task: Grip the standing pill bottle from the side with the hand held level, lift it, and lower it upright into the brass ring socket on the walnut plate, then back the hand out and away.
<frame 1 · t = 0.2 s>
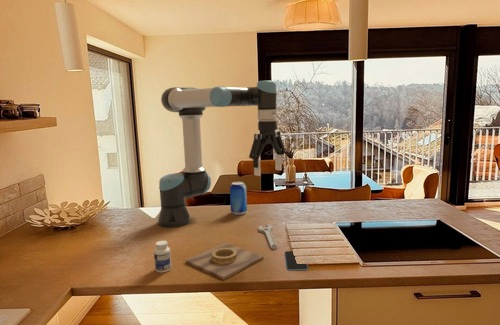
hand: (268, 172, 141), 28 cm above the worktop, tool pointing down, fingers open, 13 cm apart
beer can: (239, 213, 180), on the worktop
adjustable wrench: (267, 238, 146), on the worktop
pill bottle: (163, 269, 120), on the worktop
smartphone: (295, 262, 123), on the worktop
socket plate: (224, 260, 125), on the worktop
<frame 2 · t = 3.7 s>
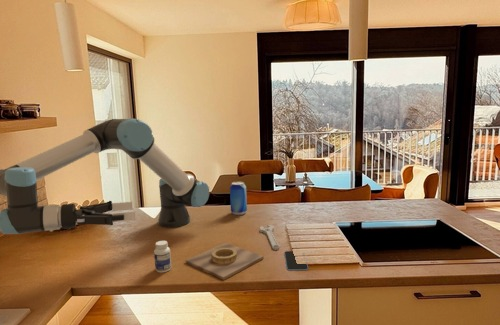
hand: (133, 210, 114), 22 cm above the worktop, tool horizontal, fingers open, 13 cm apart
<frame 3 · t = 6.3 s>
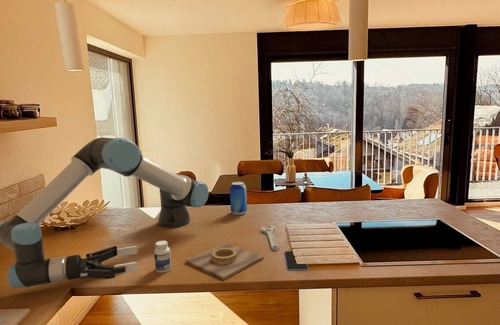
hand: (136, 257, 116), 6 cm above the worktop, tool horizontal, fingers open, 13 cm apart
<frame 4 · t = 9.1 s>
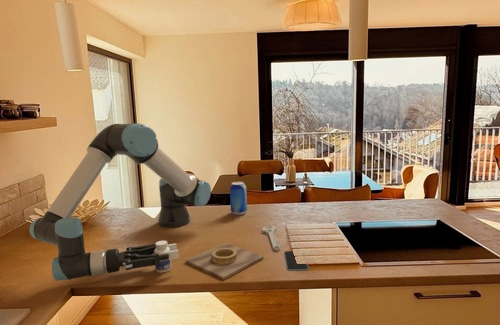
hand: (177, 250, 120), 6 cm above the worktop, tool horizontal, fingers closed on pill bottle, 5 cm apart
pill bottle: (163, 269, 120), on the worktop, touching gripper
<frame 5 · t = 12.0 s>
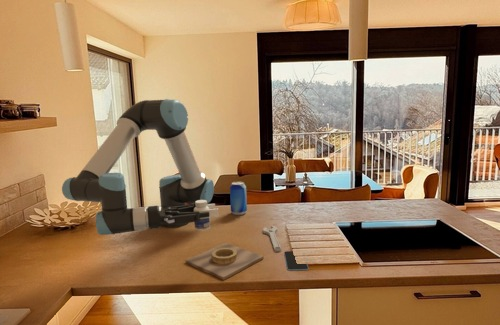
hand: (216, 209, 120), 20 cm above the worktop, tool horizontal, fingers closed on pill bottle, 5 cm apart
pill bottle: (202, 228, 119), point 13 cm above the worktop, touching gripper
when the fingers open (8 cm above the worktop, at t = 15.1 s): pill bottle stays where it is, resting on socket plate.
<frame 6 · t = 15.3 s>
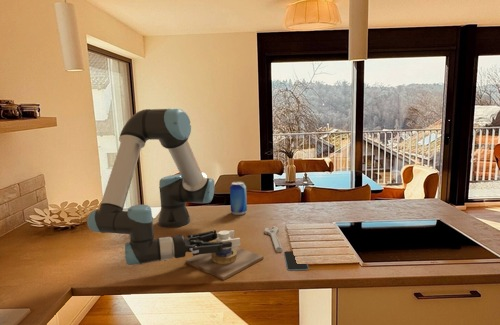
hand: (236, 237, 125), 8 cm above the worktop, tool horizontal, fingers open, 7 cm apart
pill bottle: (224, 258, 125), point 1 cm above the worktop, touching socket plate
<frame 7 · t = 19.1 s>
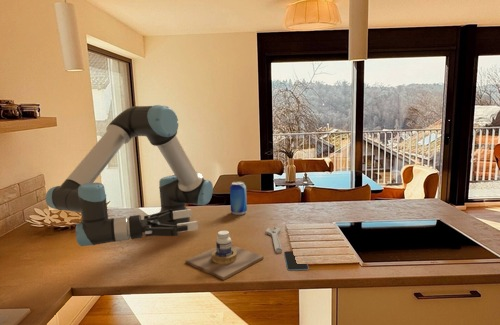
hand: (194, 218, 118), 17 cm above the worktop, tool horizontal, fingers open, 13 cm apart
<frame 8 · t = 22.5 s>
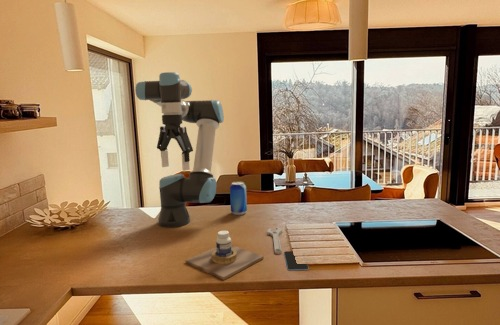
hand: (175, 168, 135), 32 cm above the worktop, tool pointing down, fingers open, 13 cm apart
at the end: pill bottle 0.1 cm off-centre on the socket plate, point 0.8 cm above the socket plate's base; pill bottle tilted 0°; the gripper is holding nothing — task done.
